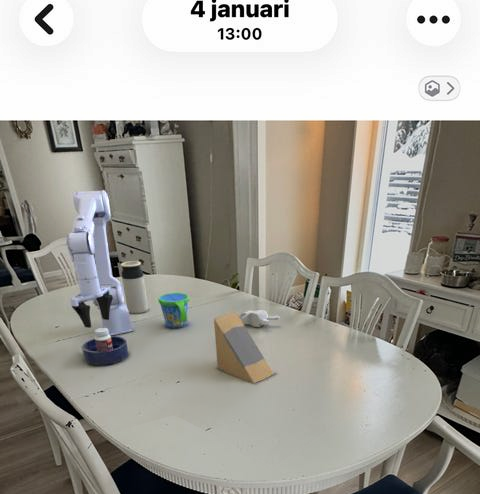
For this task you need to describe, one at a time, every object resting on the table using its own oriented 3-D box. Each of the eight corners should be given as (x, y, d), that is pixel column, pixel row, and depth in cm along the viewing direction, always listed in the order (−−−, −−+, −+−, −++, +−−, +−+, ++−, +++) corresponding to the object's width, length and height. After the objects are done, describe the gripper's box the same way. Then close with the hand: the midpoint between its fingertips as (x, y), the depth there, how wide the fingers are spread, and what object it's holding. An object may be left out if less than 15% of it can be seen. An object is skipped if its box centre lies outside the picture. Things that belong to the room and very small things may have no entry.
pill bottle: (113, 358, 144) (108, 331, 139) (97, 359, 143) (92, 333, 139) (115, 352, 148) (110, 326, 143) (99, 353, 147) (94, 327, 143)
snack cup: (197, 329, 164) (194, 300, 159) (168, 334, 161) (164, 305, 155) (184, 316, 176) (181, 289, 171) (157, 321, 173) (153, 293, 168)
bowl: (121, 346, 153) (118, 333, 151) (134, 359, 143) (132, 345, 141) (80, 355, 148) (77, 341, 146) (91, 370, 138) (87, 355, 136)
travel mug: (152, 309, 186) (145, 262, 176) (138, 315, 180) (131, 266, 170) (137, 306, 189) (130, 260, 180) (123, 312, 184) (115, 264, 174)
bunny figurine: (251, 306, 171) (282, 309, 161) (252, 320, 173) (283, 324, 163) (232, 313, 165) (263, 316, 155) (234, 327, 168) (265, 331, 158)
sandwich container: (254, 384, 126) (252, 330, 118) (216, 368, 136) (213, 318, 128) (275, 373, 131) (275, 321, 123) (237, 359, 141) (235, 310, 133)
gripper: (78, 285, 128) (89, 332, 135) (115, 272, 138) (123, 317, 145) (60, 282, 131) (72, 329, 138) (98, 270, 141) (106, 314, 149)
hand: (97, 323), depth 142 cm, fingers open, 7 cm apart
